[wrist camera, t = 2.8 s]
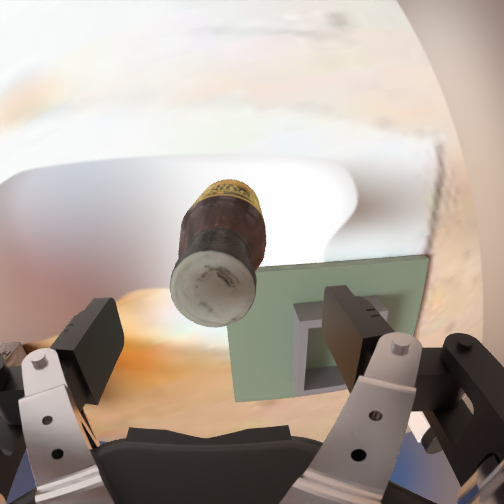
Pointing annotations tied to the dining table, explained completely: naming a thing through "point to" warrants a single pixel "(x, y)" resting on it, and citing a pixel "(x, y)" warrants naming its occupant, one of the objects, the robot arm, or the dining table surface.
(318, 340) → the deck plate
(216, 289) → the sauce bottle
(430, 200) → the dining table surface
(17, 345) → the coffee box
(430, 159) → the dining table surface
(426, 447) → the jar
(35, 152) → the dining table surface
